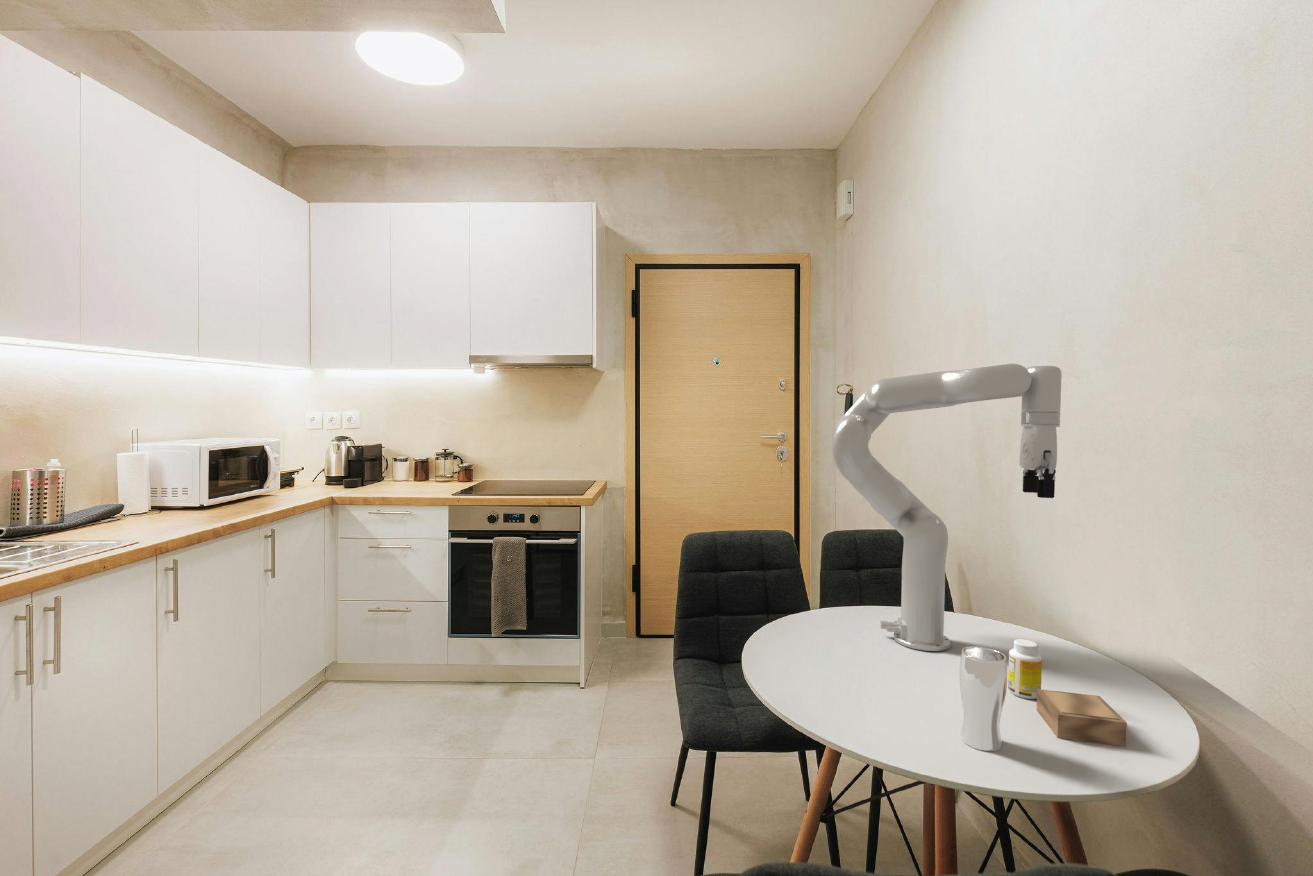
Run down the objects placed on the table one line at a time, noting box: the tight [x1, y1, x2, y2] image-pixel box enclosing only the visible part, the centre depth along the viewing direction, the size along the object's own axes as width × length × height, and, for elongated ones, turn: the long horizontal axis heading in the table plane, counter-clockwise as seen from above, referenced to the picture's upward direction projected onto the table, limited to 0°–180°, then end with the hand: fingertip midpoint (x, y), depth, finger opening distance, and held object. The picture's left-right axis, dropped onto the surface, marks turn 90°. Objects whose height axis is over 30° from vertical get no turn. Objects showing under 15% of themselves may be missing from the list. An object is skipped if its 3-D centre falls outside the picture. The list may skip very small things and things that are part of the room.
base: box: [1036, 688, 1128, 747], centre depth 106 cm, size 10×10×4 cm
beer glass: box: [959, 645, 1008, 752], centre depth 101 cm, size 7×7×15 cm
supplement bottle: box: [1007, 638, 1043, 700], centre depth 119 cm, size 6×6×10 cm
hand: (1037, 494), depth 139 cm, fingers open, 9 cm apart
